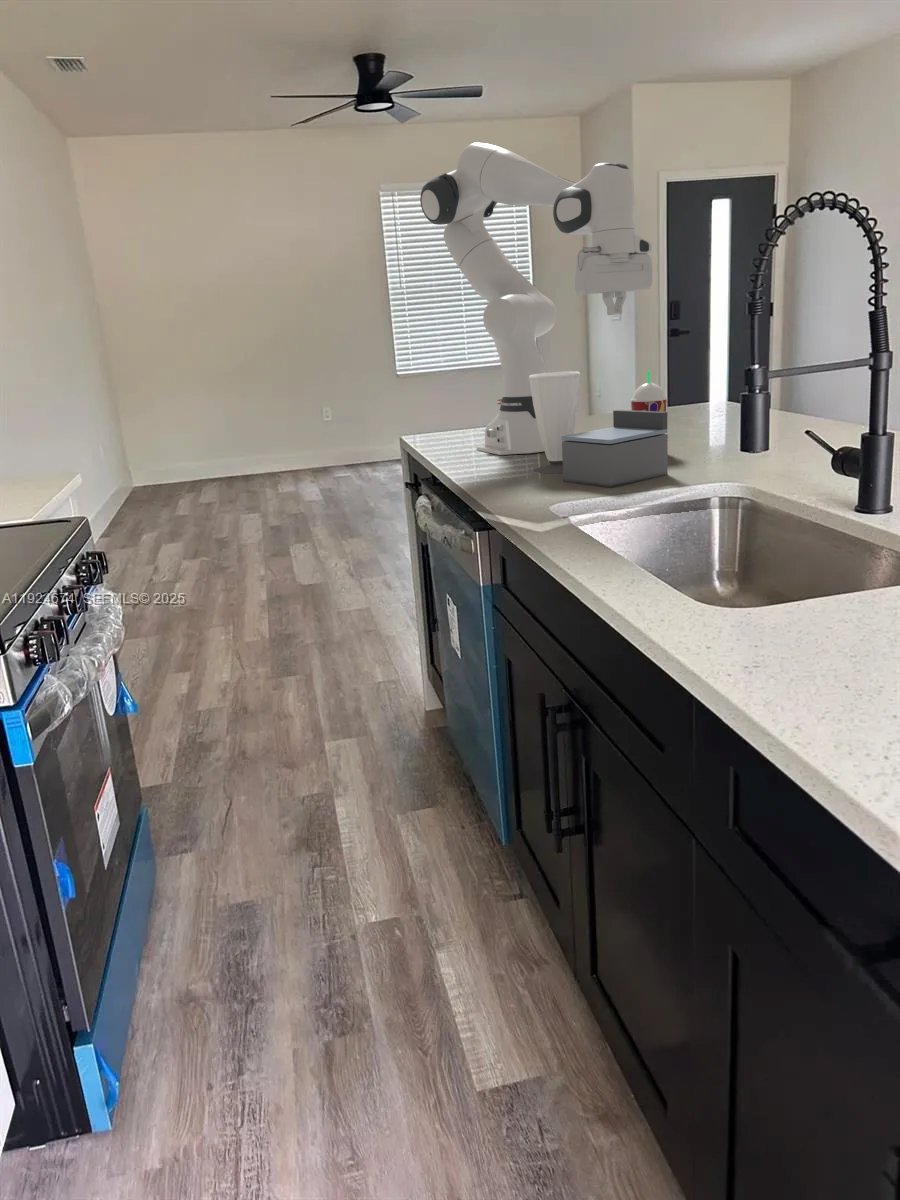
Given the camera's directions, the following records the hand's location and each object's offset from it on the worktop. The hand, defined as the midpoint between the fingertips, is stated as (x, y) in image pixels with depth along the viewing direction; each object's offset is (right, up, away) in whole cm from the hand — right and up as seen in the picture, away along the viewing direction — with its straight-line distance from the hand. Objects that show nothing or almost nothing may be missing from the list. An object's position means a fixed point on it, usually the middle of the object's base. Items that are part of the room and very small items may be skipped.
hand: (614, 314), depth 187 cm
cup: (-11, -32, +13) cm, 36 cm away
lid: (-1, -27, -5) cm, 28 cm away
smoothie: (+12, -27, +21) cm, 37 cm away
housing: (0, -36, -2) cm, 36 cm away
